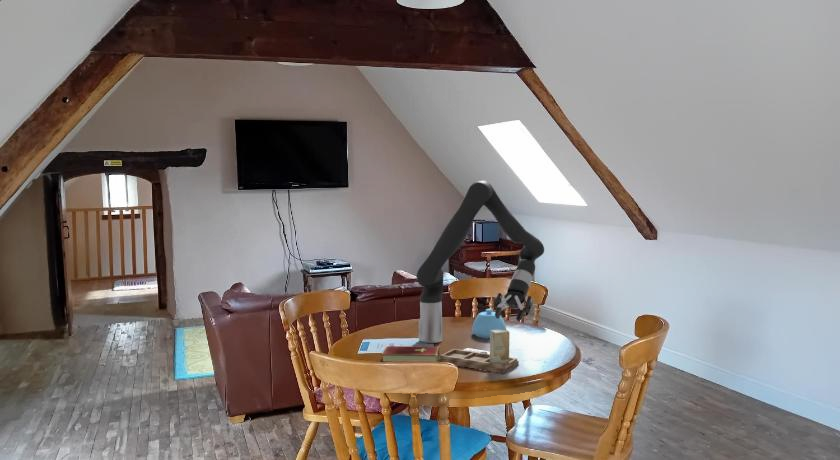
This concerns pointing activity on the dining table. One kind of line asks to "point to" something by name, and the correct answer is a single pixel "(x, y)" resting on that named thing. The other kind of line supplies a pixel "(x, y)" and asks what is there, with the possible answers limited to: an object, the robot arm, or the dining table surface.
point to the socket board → (476, 361)
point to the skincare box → (499, 346)
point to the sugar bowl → (487, 324)
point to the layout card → (477, 350)
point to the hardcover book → (410, 353)
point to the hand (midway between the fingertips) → (507, 318)
